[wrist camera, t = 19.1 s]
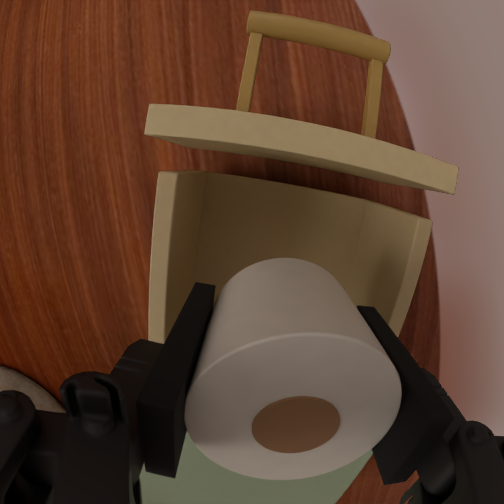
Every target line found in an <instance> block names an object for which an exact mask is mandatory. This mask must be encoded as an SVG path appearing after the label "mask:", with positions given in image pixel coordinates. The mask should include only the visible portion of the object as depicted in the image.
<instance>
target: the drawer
mask: <svg viewBox="0 0 504 504" xmlns="http://www.w3.org/2000/svg"><path fill="white" fill-rule="evenodd" d="M247 35H250V37H249V42H248V47H247V52H246V58H245V63H244V68H243V73H242V79H241V84H240V90H239V95H238V101H237V107H236V110H228V109H219V108H209V107H198V106H185V105H169V104H150V105H149V109H148V115H147V120H146V126H145V133H144V134H145V135H148V136H151V137H155V138H158V139H162V140H165V141H169V142H172V143H176V144H179V145H182V146H185V147H189V148H196V149H205V150H213V151H221V152H229V153H236V154H243V155H250V156H256V157H262V158H269V159H274V160H280V161H286V162H291V163H297V164H302V165H307V166H312V167H317V168H322V169H327V170H332V171H336V172H341V173H345V174H350V175H354V176H358V177H362V178H367V179H371V180H375V181H379V182H382V183H388V184H395V185H401V186H407V187H414V188H420V189H425V190H432V191H437V192H442V193H447V194H455V189H456V183H457V177H458V170H459V168H458V167H456V166H454V165H452V164H449V163H446V162H444V161H441V160H438V159H436V158H433V157H430V156H427V155H424V154H422V153H419V152H416V151H413V150H410V149H407V148H404V147H401V146H397V145H394V144H391V143H388V142H384V141H381V140H377V139H375V137H376V130H377V122H378V114H379V105H380V96H381V85H382V73H383V65H384V64H386V62H387V61H388V59H389V56H390V50H391V47H390V43H389V42H388V41H385V40H382V39H379V38H376V37H373V36H370V35H367V34H364V33H361V32H357V31H354V30H351V29H347V28H343V27H340V26H336V25H332V24H328V23H324V22H319V21H315V20H310V19H305V18H300V17H295V16H289V15H283V14H277V13H270V12H262V11H254V10H251V11H250V13H249V16H248V22H247ZM263 37H268V38H275V39H281V40H287V41H292V42H298V43H303V44H308V45H312V46H317V47H321V48H326V49H330V50H334V51H338V52H342V53H345V54H349V55H352V56H356V57H359V58H363V59H366V60H369V69H368V79H367V89H366V98H365V106H364V114H363V122H362V129H361V135H359V134H356V133H352V132H348V131H344V130H340V129H335V128H331V127H327V126H322V125H318V124H313V123H308V122H303V121H298V120H293V119H288V118H282V117H276V116H270V115H264V114H258V113H251V112H250V107H251V101H252V95H253V90H254V84H255V78H256V73H257V67H258V62H259V56H260V51H261V45H262V40H263ZM432 225H433V221H432V220H429V219H426V218H423V217H420V216H417V215H414V214H411V213H408V212H405V211H402V210H399V209H396V208H393V207H390V206H387V205H384V204H381V203H378V202H374V201H371V200H366V199H362V198H357V197H353V196H348V195H343V194H339V193H334V192H329V191H324V190H319V189H314V188H308V187H303V186H298V185H292V184H287V183H281V182H275V181H269V180H263V179H257V178H250V177H244V176H237V175H230V174H223V173H216V172H208V171H200V170H184V171H161V172H159V174H158V182H157V190H156V200H155V209H154V220H153V232H152V246H151V262H150V283H149V341H153V342H158V343H162V344H164V343H165V341H166V339H167V337H168V335H169V333H170V331H171V329H172V327H173V325H174V323H175V321H176V319H177V317H178V315H179V313H180V311H181V309H182V307H183V306H184V304H185V302H186V300H187V298H188V296H189V294H190V292H191V290H192V288H193V286H194V285H195V283H196V282H199V283H205V284H211V285H216V287H215V295H214V303H213V307H214V304H215V301H216V299H217V297H218V295H219V293H220V291H221V290H222V288H223V287H224V286H225V284H226V283H227V282H228V281H229V280H230V279H231V278H232V277H233V276H235V275H236V274H237V273H238V272H240V271H241V270H243V269H245V268H246V267H248V266H250V265H253V264H255V263H258V262H261V261H264V260H269V259H274V258H295V259H300V260H305V261H308V262H311V263H314V264H316V265H318V266H320V267H322V268H323V269H325V270H326V271H328V272H329V273H330V274H331V275H332V276H334V277H335V278H336V279H337V281H338V282H339V283H340V284H341V286H342V287H343V289H344V290H345V292H346V293H347V294H348V296H349V297H350V299H351V300H352V302H353V303H354V305H355V306H356V308H357V306H358V305H360V306H369V307H375V309H376V310H377V311H378V313H379V314H380V315H381V316H382V318H383V319H384V320H385V322H386V323H387V324H388V325H389V327H390V328H391V329H392V331H393V332H394V333H395V335H396V336H397V337H398V336H399V334H400V331H401V328H402V326H403V323H404V320H405V317H406V315H407V312H408V309H409V306H410V303H411V300H412V297H413V294H414V291H415V288H416V284H417V281H418V278H419V275H420V271H421V268H422V264H423V261H424V257H425V253H426V249H427V245H428V241H429V237H430V233H431V229H432Z"/></svg>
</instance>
